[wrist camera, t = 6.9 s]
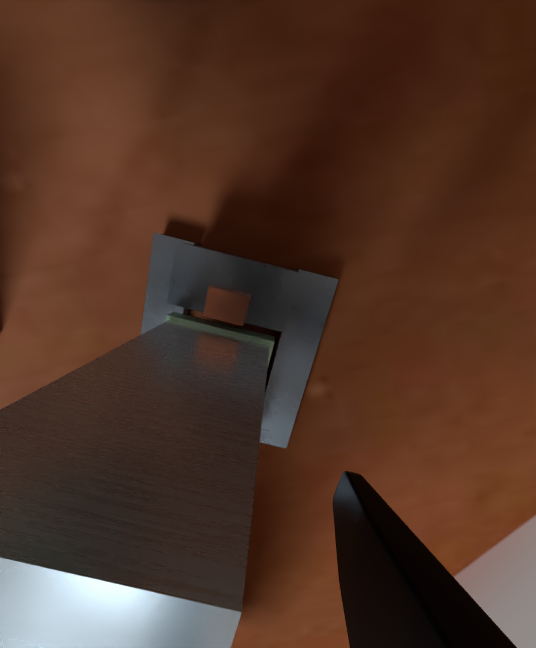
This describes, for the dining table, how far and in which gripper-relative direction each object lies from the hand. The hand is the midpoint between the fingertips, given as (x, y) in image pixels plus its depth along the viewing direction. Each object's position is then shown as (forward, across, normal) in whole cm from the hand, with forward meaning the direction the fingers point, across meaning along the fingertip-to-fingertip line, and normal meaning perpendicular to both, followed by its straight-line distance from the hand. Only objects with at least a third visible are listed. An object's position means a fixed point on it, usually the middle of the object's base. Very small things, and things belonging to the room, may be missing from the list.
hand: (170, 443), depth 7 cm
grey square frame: (+8, 0, 0) cm, 8 cm away
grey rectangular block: (+5, 0, 0) cm, 5 cm away
